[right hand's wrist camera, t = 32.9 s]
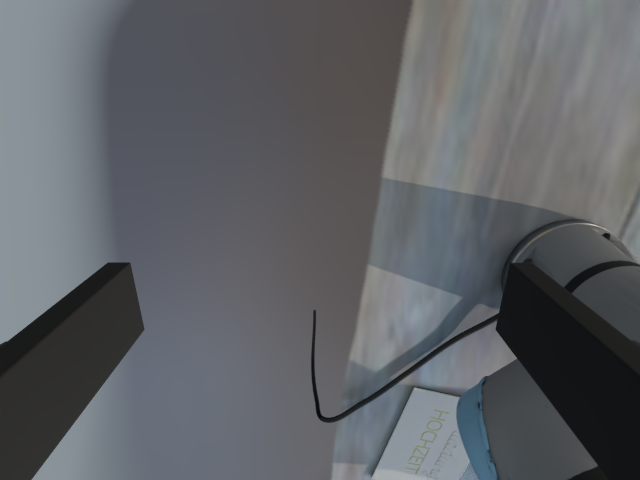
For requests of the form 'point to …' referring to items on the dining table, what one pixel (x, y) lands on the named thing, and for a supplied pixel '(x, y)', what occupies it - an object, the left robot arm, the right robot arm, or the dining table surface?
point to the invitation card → (424, 441)
